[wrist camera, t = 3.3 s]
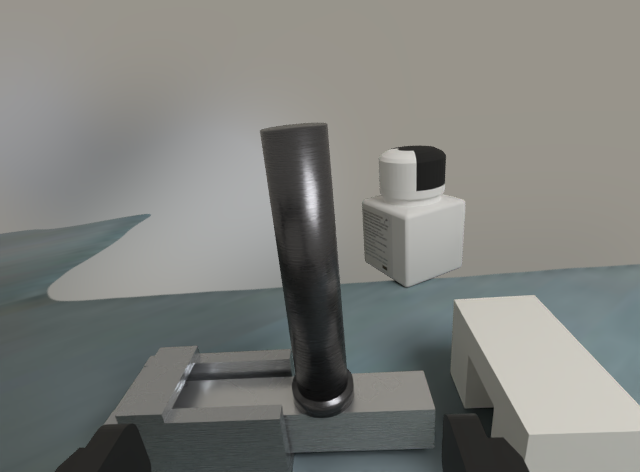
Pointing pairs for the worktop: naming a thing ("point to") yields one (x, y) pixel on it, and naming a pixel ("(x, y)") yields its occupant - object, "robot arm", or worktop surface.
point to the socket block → (542, 388)
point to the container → (413, 217)
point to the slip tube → (319, 324)
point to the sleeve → (207, 413)
